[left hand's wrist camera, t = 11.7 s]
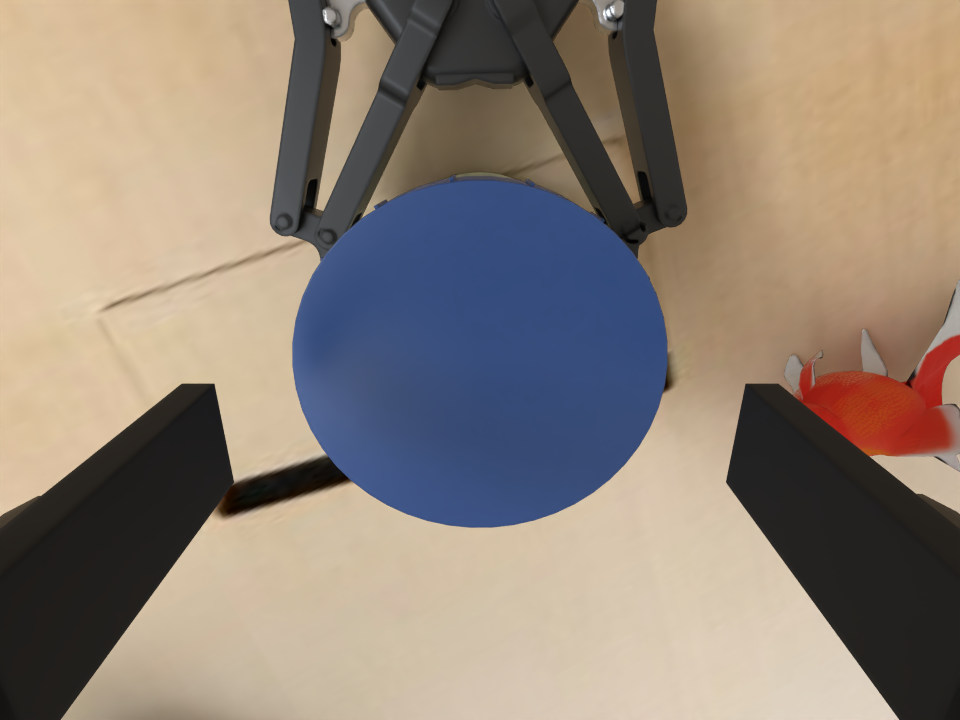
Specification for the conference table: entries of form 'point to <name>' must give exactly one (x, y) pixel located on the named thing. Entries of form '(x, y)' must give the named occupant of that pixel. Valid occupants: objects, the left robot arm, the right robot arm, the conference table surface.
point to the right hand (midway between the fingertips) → (481, 376)
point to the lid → (479, 352)
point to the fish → (889, 399)
